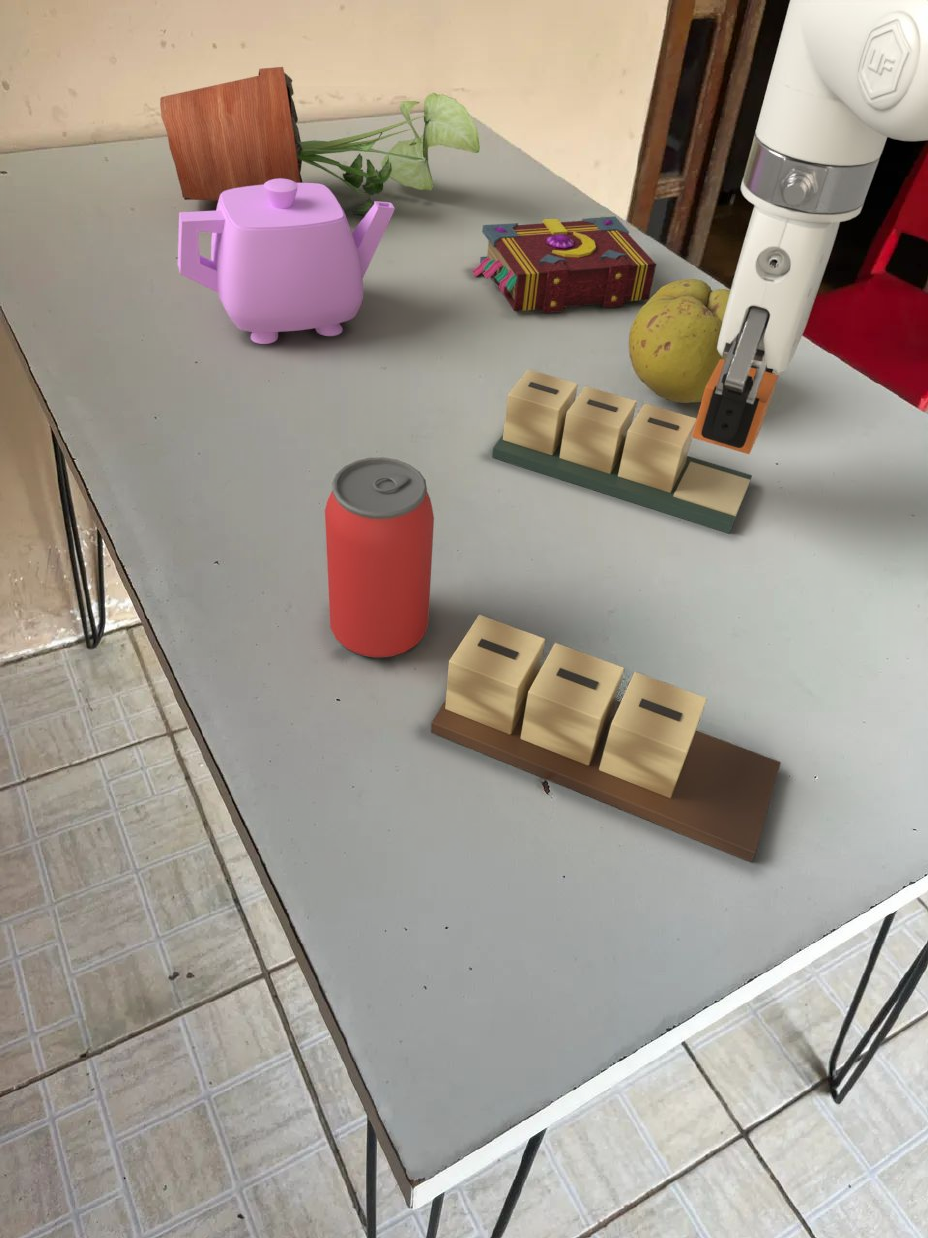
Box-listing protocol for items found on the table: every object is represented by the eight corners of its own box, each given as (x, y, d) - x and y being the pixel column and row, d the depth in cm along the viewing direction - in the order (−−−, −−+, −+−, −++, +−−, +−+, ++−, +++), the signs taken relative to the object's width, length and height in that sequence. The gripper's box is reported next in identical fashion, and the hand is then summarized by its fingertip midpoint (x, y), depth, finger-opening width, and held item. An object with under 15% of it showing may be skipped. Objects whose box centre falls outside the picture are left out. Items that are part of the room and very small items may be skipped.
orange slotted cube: (762, 425, 75) (779, 373, 71) (749, 454, 72) (766, 402, 69) (706, 408, 76) (720, 357, 73) (691, 437, 73) (705, 385, 70)
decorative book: (650, 305, 101) (660, 258, 97) (502, 318, 97) (507, 270, 93) (608, 255, 108) (615, 210, 105) (469, 266, 104) (472, 220, 101)
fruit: (596, 366, 91) (615, 263, 84) (711, 357, 94) (738, 256, 87) (640, 434, 84) (665, 327, 77) (763, 422, 87) (798, 318, 80)
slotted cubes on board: (776, 771, 59) (804, 714, 55) (751, 862, 55) (779, 807, 51) (476, 657, 64) (483, 598, 60) (430, 732, 60) (434, 672, 56)
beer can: (446, 639, 65) (457, 497, 57) (361, 677, 63) (358, 534, 54) (395, 581, 69) (397, 439, 61) (312, 614, 66) (302, 471, 58)
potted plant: (187, 251, 106) (502, 220, 110) (152, 98, 96) (501, 69, 100) (190, 200, 117) (475, 173, 121) (159, 58, 107) (472, 33, 111)
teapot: (198, 362, 88) (178, 222, 78) (177, 297, 96) (157, 163, 87) (411, 336, 93) (414, 202, 84) (374, 277, 101) (374, 149, 92)
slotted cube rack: (749, 484, 80) (768, 428, 76) (729, 533, 75) (748, 476, 71) (523, 415, 85) (530, 359, 81) (491, 457, 80) (497, 399, 76)
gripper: (847, 240, 54) (754, 500, 67) (887, 144, 65) (801, 384, 78) (715, 208, 56) (650, 467, 69) (775, 120, 67) (709, 358, 80)
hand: (731, 421), depth 73 cm, fingers closed on orange slotted cube, 4 cm apart
